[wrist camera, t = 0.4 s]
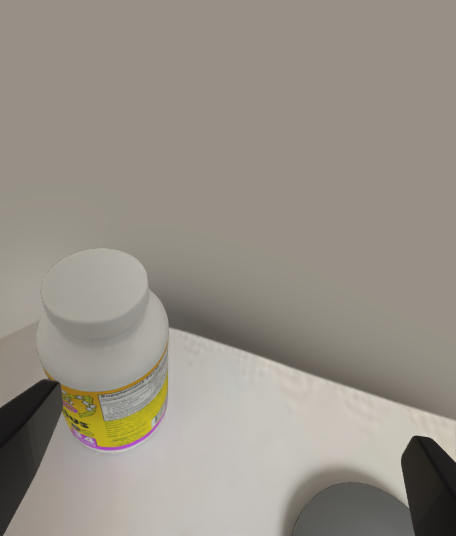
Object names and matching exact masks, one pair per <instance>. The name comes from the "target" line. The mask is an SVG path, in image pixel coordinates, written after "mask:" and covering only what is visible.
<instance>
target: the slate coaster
mask: <svg viewBox="0 0 456 536" xmlns="http://www.w3.org/2000/svg"><path fill="white" fill-rule="evenodd" d="M292 536H415V534H414V530H413V525H412V520H411V515H410V510H409V508H408V507H407V506H406V505H404V504H403V503H402V502H400V501H399V500H398V499H397V498H395V497H393V496H392V495H390V494H389V493H387V492H385V491H383V490H381V489H379V488H376V487H373V486H370V485H367V484H362V483H351V482H349V483H340V484H337V485H333V486H331V487H329V488H326V489H324V490H323V491H321V492H320V493H319V494H317V495H316V496H315V497H314V498H313V499H312V500H311V501H310V502H309V503H308V504H307V505H306V507H305V508H304V509H303V511H302V512H301V514H300V516H299V518H298V519H297V522H296V524H295V527H294V529H293V533H292Z"/></svg>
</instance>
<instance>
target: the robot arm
mask: <svg viewBox="0 0 456 536" xmlns="http://www.w3.org/2000/svg"><path fill="white" fill-rule="evenodd" d="M62 409H63V397H62V388H61V383H60V382H59V381H55V380H49V379H43V380H41V381H39V382H38V383H36V384H35V385H33V386H32V387H30V388H29V389H27V390H26V391H24V392H23V393H21V394H20V395H18V396H17V397H15V398H14V399H13V400H11V401H10V402H8V403H7V404H5V405H4V406H2V407H1V408H0V536H3V535H4V533H5V531H6V529H7V527H8V525H9V524H10V522H11V520H12V518H13V516H14V514H15V512H16V511H17V509H18V507H19V505H20V503H21V501H22V499H23V497H24V496H25V494H26V492H27V490H28V488H29V486H30V484H31V482H32V481H33V479H34V477H35V475H36V473H37V470H38V468H39V466H40V463H41V461H42V459H43V456H44V454H45V451H46V449H47V446H48V444H49V442H50V439H51V437H52V434H53V432H54V429H55V427H56V425H57V422H58V420H59V417H60V415H61V412H62ZM401 466H402V472H403V477H404V483H405V488H406V493H407V499H408V504H409V510H410V515H411V520H412V525H413V530H414V534H415V536H456V462H455V461H454V460H453V459H452V458H451V457H450V456H449V455H448V454H447V453H446V452H445V451H444V450H443V449H442V448H441V447H440V446H439V445H438V444H437V443H436V442H435V441H434V440H433V439H431V438H429V437H423V436H414V437H412V438H411V440H410V442H409V444H408V445H407V447H406V449H405V451H404V452H403V454H402V458H401Z"/></svg>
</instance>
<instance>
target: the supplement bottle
mask: <svg viewBox="0 0 456 536" xmlns="http://www.w3.org/2000/svg"><path fill="white" fill-rule="evenodd" d="M41 298H42V301H43V304H44V307H45V311H44V313H43V315H42V317H41V319H40V321H39V324H38V327H37V331H36V348H37V353H38V356H39V358H40V361H41V364H42V366H43V368H44V370H45V373H46V375H47V377H48V379H49V380H55V381H59V382H60V383H61V388H62V397H63V409H62V412H63V415H64V417H65V419H66V421H67V423H68V426H69V428H70V430H71V431H72V433H73V435H74V436H75V437H76V439H77V440H78V441H79V442H80V443H81V444H83V445H84V446H86V447H88V448H89V449H91V450H94V451H97V452H102V453H120V452H124V451H128V450H131V449H133V448H135V447H137V446H138V445H140V444H142V443H143V442H145V441H146V440H147V439H148V438H149V437H150V436H151V435H152V434H153V433H154V432H155V431H156V430H157V428H158V427H159V426H160V424H161V422H162V420H163V418H164V415H165V412H166V408H167V400H168V335H169V330H168V329H169V326H168V318H167V314H166V312H165V309H164V307H163V305H162V303H161V301H160V300H159V299H158V297H157V296H156V295H155V294H154V293H153V292H152V291H150V290H149V286H148V277H147V273H146V271H145V269H144V267H143V266H142V264H141V263H140V262H139V261H138V260H137V259H136V258H134V257H133V256H131V255H130V254H127V253H125V252H122V251H119V250H114V249H109V248H97V249H89V250H84V251H80V252H77V253H74V254H72V255H69V256H67V257H66V258H64V259H62V260H60V261H59V262H58V263H56V264H55V265H54V266H53V267H52V268H51V269H50V270H49V271H48V273H47V274H46V276H45V277H44V279H43V282H42V285H41Z"/></svg>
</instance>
